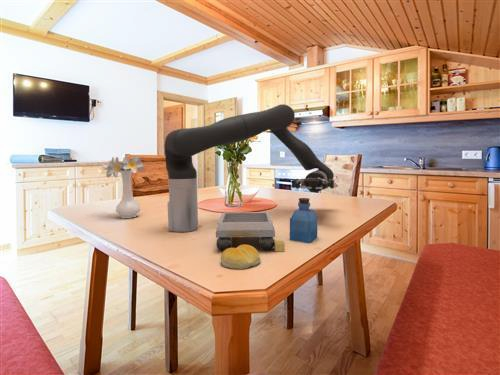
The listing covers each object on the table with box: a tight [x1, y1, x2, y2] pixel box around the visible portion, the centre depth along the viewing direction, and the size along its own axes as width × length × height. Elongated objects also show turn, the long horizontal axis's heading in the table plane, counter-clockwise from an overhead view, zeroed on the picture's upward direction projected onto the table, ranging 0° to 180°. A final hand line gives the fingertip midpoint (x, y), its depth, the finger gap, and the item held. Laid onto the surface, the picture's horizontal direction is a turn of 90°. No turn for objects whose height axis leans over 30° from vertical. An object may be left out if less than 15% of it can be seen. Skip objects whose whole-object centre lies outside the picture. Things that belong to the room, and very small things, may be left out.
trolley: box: [215, 211, 286, 253], centre depth 80 cm, size 18×15×8 cm
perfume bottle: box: [289, 197, 319, 244], centre depth 84 cm, size 6×6×12 cm
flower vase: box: [101, 155, 147, 219], centre depth 116 cm, size 13×18×25 cm
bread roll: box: [220, 244, 261, 270], centre depth 66 cm, size 8×9×4 cm
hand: (310, 185), depth 94 cm, fingers open, 8 cm apart
